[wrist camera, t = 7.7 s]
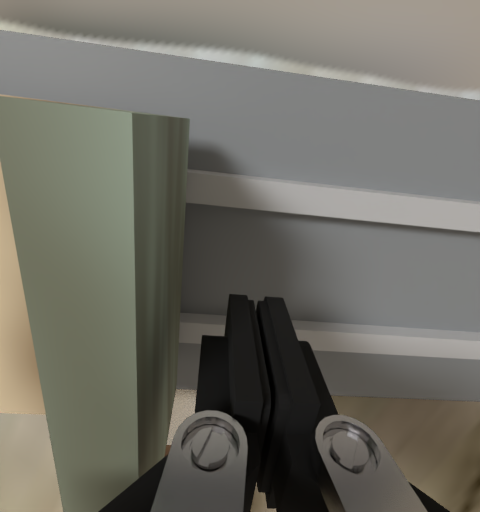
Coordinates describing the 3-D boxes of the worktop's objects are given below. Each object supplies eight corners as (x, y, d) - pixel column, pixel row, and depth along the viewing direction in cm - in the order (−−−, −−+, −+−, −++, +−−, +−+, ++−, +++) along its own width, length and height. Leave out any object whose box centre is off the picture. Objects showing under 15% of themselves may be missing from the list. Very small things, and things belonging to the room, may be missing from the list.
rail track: (643, 126, 14) (684, 127, 12) (486, 395, 20) (503, 413, 19) (-549, -49, 9) (-661, -73, 8) (-271, 362, 16) (-311, 381, 14)
